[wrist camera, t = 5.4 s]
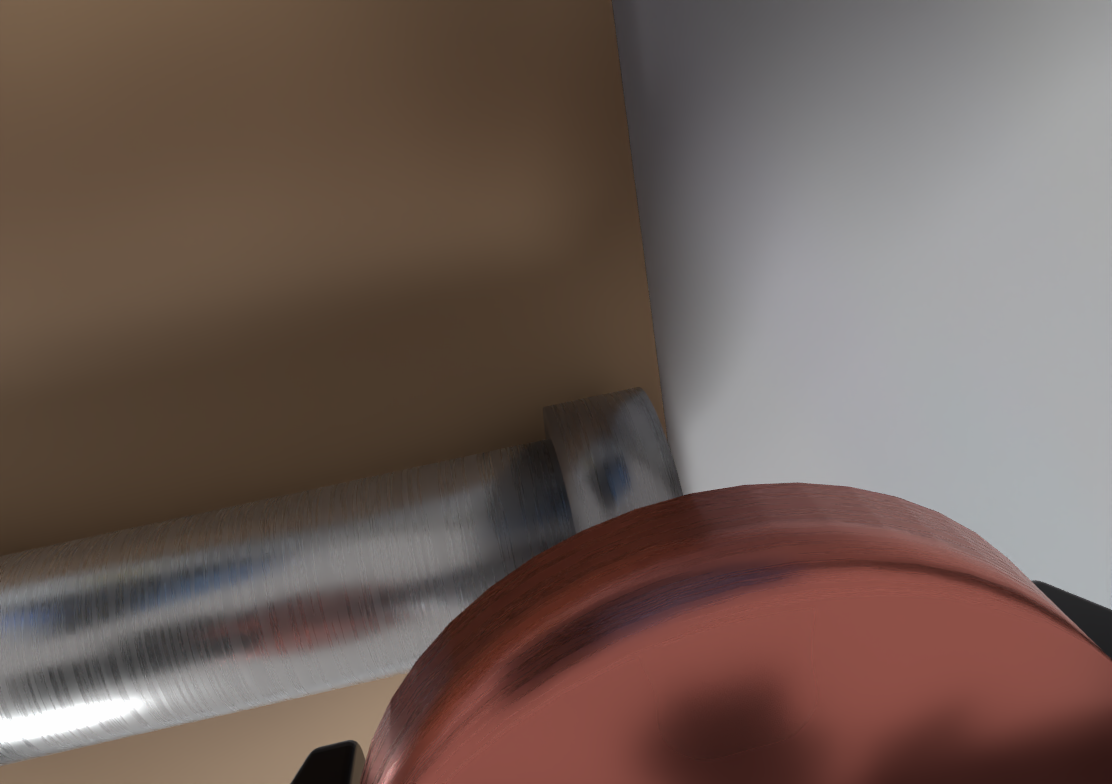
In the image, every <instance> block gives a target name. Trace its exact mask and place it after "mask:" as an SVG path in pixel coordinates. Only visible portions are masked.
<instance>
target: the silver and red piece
mask: <svg viewBox="0 0 1112 784" xmlns="http://www.w3.org/2000/svg"><path fill="white" fill-rule="evenodd" d="M543 419H544V427H545V434H546V439H545V440H540V441H536V442H531V443H526V444H522V445H517V446H512V447H508V448H503V449H498V450H494V451H489V452H484V453H480V454H475V455H470V456H466V457H461V458H456V459H452V460H447V461H442V462H438V463H433V464H428V465H424V466H419V467H414V468H410V469H405V470H400V471H396V472H391V473H386V474H382V475H377V476H372V477H368V478H363V479H358V480H354V481H349V482H344V483H340V484H335V485H330V486H326V487H321V488H316V489H312V490H307V491H302V492H298V493H293V494H288V495H283V496H279V497H274V498H269V499H265V500H260V501H255V502H251V503H246V504H241V505H237V506H232V507H227V508H223V509H218V510H213V511H209V512H204V513H199V514H195V515H190V516H185V517H181V518H176V519H171V520H167V521H162V522H157V523H153V524H148V525H143V526H139V527H134V528H129V529H125V530H120V531H115V532H111V533H106V534H101V535H97V536H92V537H87V538H83V539H78V540H73V541H69V542H64V543H59V544H55V545H50V546H45V547H41V548H36V549H31V550H27V551H22V552H17V553H13V554H8V555H3V556H0V766H3V765H8V764H12V763H16V762H21V761H25V760H30V759H34V758H38V757H43V756H47V755H51V754H56V753H60V752H64V751H69V750H73V749H78V748H82V747H86V746H91V745H95V744H99V743H104V742H108V741H113V740H117V739H121V738H126V737H130V736H134V735H139V734H143V733H148V732H152V731H156V730H161V729H165V728H169V727H174V726H178V725H183V724H187V723H191V722H196V721H200V720H204V719H209V718H213V717H218V716H222V715H226V714H231V713H235V712H239V711H244V710H248V709H253V708H257V707H261V706H266V705H270V704H274V703H279V702H283V701H288V700H292V699H296V698H301V697H305V696H309V695H314V694H318V693H323V692H327V691H331V690H336V689H340V688H344V687H349V686H353V685H358V684H362V683H366V682H371V681H375V680H379V679H384V678H388V677H393V676H397V675H401V674H406V673H408V674H407V676H406V677H405V679H404V680H403V682H402V683H401V685H400V686H399V688H398V689H397V691H396V692H395V694H394V695H393V697H392V698H391V700H390V702H389V704H388V706H387V708H386V710H385V713H384V715H383V717H382V719H381V721H380V723H379V725H378V727H377V730H376V732H375V734H374V736H373V738H372V740H371V744H370V747H369V751H368V754H367V758H366V761H365V765H364V768H363V771H362V775H361V778H360V784H1112V659H1111V658H1110V657H1109V656H1108V655H1107V654H1106V653H1105V652H1103V651H1102V650H1101V649H1100V648H1099V647H1098V646H1097V645H1096V644H1095V643H1094V642H1093V641H1092V640H1091V639H1090V638H1089V637H1088V636H1087V635H1086V634H1085V633H1084V632H1083V631H1082V630H1081V629H1080V628H1079V627H1078V626H1077V625H1076V624H1075V623H1074V622H1073V621H1072V620H1071V619H1070V618H1069V617H1068V616H1067V615H1065V614H1064V613H1063V612H1062V611H1061V610H1060V609H1059V608H1058V607H1057V606H1056V605H1055V604H1054V603H1053V602H1052V601H1051V600H1050V599H1049V598H1048V597H1047V596H1046V595H1045V594H1044V593H1043V592H1042V591H1041V590H1040V589H1039V588H1038V587H1037V586H1036V585H1035V584H1034V583H1033V582H1032V581H1031V580H1030V579H1028V578H1027V577H1026V576H1025V575H1024V574H1023V573H1022V572H1021V571H1020V570H1019V569H1018V568H1017V567H1016V566H1015V565H1014V564H1013V563H1012V562H1011V561H1010V560H1009V559H1008V558H1007V557H1006V556H1004V555H1003V554H1002V553H1001V552H999V551H998V550H997V549H996V548H994V547H993V546H992V545H990V544H989V543H988V542H987V541H985V540H984V539H983V538H982V537H980V536H979V535H978V534H977V533H975V532H973V531H971V530H970V529H968V528H966V527H964V526H962V525H961V524H959V523H957V522H955V521H953V520H952V519H950V518H948V517H946V516H944V515H943V514H941V513H939V512H936V511H934V510H931V509H928V508H925V507H923V506H920V505H917V504H915V503H912V502H909V501H906V500H904V499H901V498H898V497H895V496H890V495H886V494H881V493H876V492H871V491H867V490H862V489H857V488H853V487H846V486H834V485H821V484H808V483H779V484H756V485H742V486H735V487H729V488H723V489H717V490H711V491H704V492H698V493H692V494H688V495H684V496H683V493H682V490H681V486H680V482H679V478H678V475H677V471H676V468H675V464H674V461H673V458H672V455H671V451H670V448H669V445H668V442H667V439H666V436H665V434H664V431H663V428H662V425H661V423H660V420H659V418H658V415H657V413H656V411H655V409H654V406H653V405H652V403H651V401H650V399H649V397H648V396H647V394H646V392H645V391H644V390H643V389H642V388H640V387H635V388H631V389H626V390H621V391H616V392H612V393H607V394H602V395H598V396H593V397H588V398H583V399H579V400H574V401H569V402H565V403H560V404H555V405H550V406H546V407H543Z"/></svg>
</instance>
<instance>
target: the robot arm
mask: <svg viewBox="0 0 1112 784" xmlns="http://www.w3.org/2000/svg"><path fill="white" fill-rule="evenodd" d="M1032 582H1033V583H1034V584H1035V585H1036V586H1037V587H1038V588H1039V589H1040V590H1041V591H1042V592H1043V593H1044V594H1045V595H1046V596H1047V597H1048V598H1049V599H1050V600H1051V601H1052V602H1053V603H1054V604H1055V605H1056V606H1057V607H1058V608H1059V609H1060V610H1061V611H1062V612H1063V613H1064V614H1065V615H1067V616H1068V617H1069V618H1070V619H1071V620H1072V621H1073V622H1074V623H1075V624H1076V625H1077V626H1078V627H1079V628H1080V629H1081V630H1082V631H1083V632H1084V633H1085V634H1086V635H1087V636H1088V637H1089V638H1090V639H1091V640H1092V641H1093V642H1094V643H1095V644H1096V645H1097V646H1098V647H1099V648H1100V649H1101V650H1102V651H1103V652H1105V653H1106V654H1107V655H1108V656H1109V657H1110V658H1111V659H1112V610H1111V609H1108V608H1106V607H1103V606H1101V605H1098V604H1096V603H1093V602H1091V601H1088V600H1086V599H1084V598H1081V597H1079V596H1076V595H1074V594H1071V593H1069V592H1066V591H1064V590H1061V589H1059V588H1056V587H1054V586H1051V585H1049V584H1047V583H1044V582H1041V581H1032ZM365 761H366V760H365V757H364V754H363V751H362V748H361V746H360V745H359V744H358V742H356V741H354V740H347V741H342V742H338V743H334V744H330V745H325V746H321V747H318V748H316V749H314V750H313V751H312V752H311V753H310V754H309V755H308V756H307V758H306V759H305V761H304V763H303V764H302V766H301V767H300V769H299V770H298V772H297V774H296V775H295V777H294V778H293V780H292V781H291V783H290V784H360V778H361V775H362V771H363V768H364V765H365Z"/></svg>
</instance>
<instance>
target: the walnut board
mask: <svg viewBox="0 0 1112 784" xmlns="http://www.w3.org/2000/svg"><path fill="white" fill-rule="evenodd" d="M635 387H640V388H642V389H643V390H644V391H645V392H646V394H647V396H648V397H649V399H650V401H651V403H652V405H653V406H654V409H655V411H656V413H657V415H658V418H659V420H660V423H661V425H662V428H663V431H664V434H665V436H666V439H667V432H666V424H665V416H664V408H663V401H662V393H661V385H660V377H659V369H658V361H657V353H656V345H655V337H654V330H653V322H652V314H651V306H650V298H649V290H648V282H647V274H646V267H645V259H644V251H643V243H642V235H641V227H640V219H639V211H638V203H637V196H636V188H635V180H634V172H633V164H632V156H631V148H630V140H629V132H628V125H627V117H626V109H625V101H624V93H623V85H622V77H621V69H620V62H619V54H618V46H617V38H616V30H615V22H614V14H613V6H612V0H0V556H3V555H8V554H13V553H17V552H22V551H27V550H31V549H36V548H41V547H45V546H50V545H55V544H59V543H64V542H69V541H73V540H78V539H83V538H87V537H92V536H97V535H101V534H106V533H111V532H115V531H120V530H125V529H129V528H134V527H139V526H143V525H148V524H153V523H157V522H162V521H167V520H171V519H176V518H181V517H185V516H190V515H195V514H199V513H204V512H209V511H213V510H218V509H223V508H227V507H232V506H237V505H241V504H246V503H251V502H255V501H260V500H265V499H269V498H274V497H279V496H283V495H288V494H293V493H298V492H302V491H307V490H312V489H316V488H321V487H326V486H330V485H335V484H340V483H344V482H349V481H354V480H358V479H363V478H368V477H372V476H377V475H382V474H386V473H391V472H396V471H400V470H405V469H410V468H414V467H419V466H424V465H428V464H433V463H438V462H442V461H447V460H452V459H456V458H461V457H466V456H470V455H475V454H480V453H484V452H489V451H494V450H498V449H503V448H508V447H512V446H517V445H522V444H526V443H531V442H536V441H540V440H545V439H546V434H545V427H544V419H543V407H546V406H550V405H555V404H560V403H565V402H569V401H574V400H579V399H583V398H588V397H593V396H598V395H602V394H607V393H612V392H616V391H621V390H626V389H631V388H635ZM667 442H668V440H667ZM407 674H408V673H406V674H401V675H397V676H393V677H388V678H384V679H379V680H375V681H371V682H366V683H362V684H358V685H353V686H349V687H344V688H340V689H336V690H331V691H327V692H323V693H318V694H314V695H309V696H305V697H301V698H296V699H292V700H288V701H283V702H279V703H274V704H270V705H266V706H261V707H257V708H253V709H248V710H244V711H239V712H235V713H231V714H226V715H222V716H218V717H213V718H209V719H204V720H200V721H196V722H191V723H187V724H183V725H178V726H174V727H169V728H165V729H161V730H156V731H152V732H148V733H143V734H139V735H134V736H130V737H126V738H121V739H117V740H113V741H108V742H104V743H99V744H95V745H91V746H86V747H82V748H78V749H73V750H69V751H64V752H60V753H56V754H51V755H47V756H43V757H38V758H34V759H30V760H25V761H21V762H16V763H12V764H8V765H3V766H0V784H290V783H291V781H292V780H293V778H294V777H295V775H296V774H297V772H298V770H299V769H300V767H301V766H302V764H303V763H304V761H305V759H306V758H307V756H308V755H309V754H310V753H311V752H312V751H313V750H314V749H316V748H318V747H321V746H325V745H330V744H334V743H338V742H342V741H347V740H354V741H356V742H358V744H359V745H360V746H361V748H362V751H363V754H364V757H365V760H366V758H367V754H368V751H369V747H370V744H371V740H372V738H373V736H374V734H375V732H376V730H377V727H378V725H379V723H380V721H381V719H382V717H383V715H384V713H385V710H386V708H387V706H388V704H389V702H390V700H391V698H392V697H393V695H394V694H395V692H396V691H397V689H398V688H399V686H400V685H401V683H402V682H403V680H404V679H405V677H406V676H407Z"/></svg>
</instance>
